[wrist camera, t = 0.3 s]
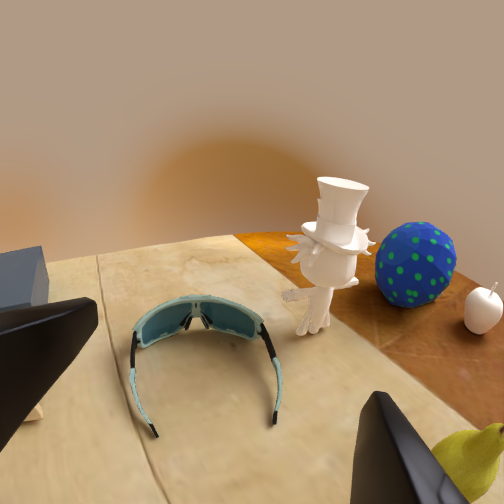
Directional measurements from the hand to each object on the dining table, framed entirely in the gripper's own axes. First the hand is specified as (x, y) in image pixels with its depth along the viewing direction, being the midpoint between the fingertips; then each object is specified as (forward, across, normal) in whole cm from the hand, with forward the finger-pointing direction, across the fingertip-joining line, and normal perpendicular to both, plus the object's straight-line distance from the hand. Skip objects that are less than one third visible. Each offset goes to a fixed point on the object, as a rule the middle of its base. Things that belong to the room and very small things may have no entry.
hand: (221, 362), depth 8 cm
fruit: (+5, -19, +14) cm, 24 cm away
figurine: (+24, -5, +14) cm, 28 cm away
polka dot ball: (+36, -20, +11) cm, 43 cm away
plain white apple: (+31, -32, +11) cm, 46 cm away
